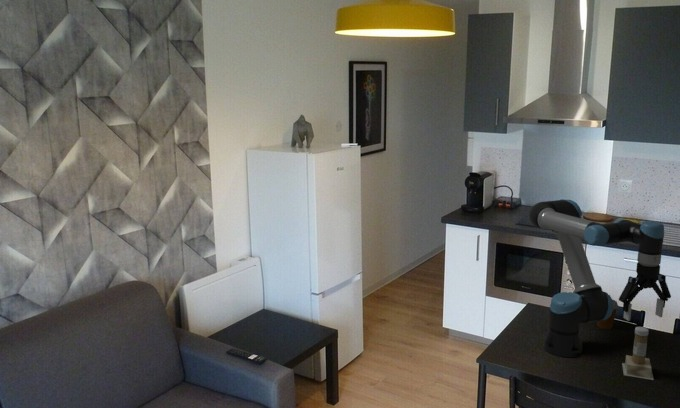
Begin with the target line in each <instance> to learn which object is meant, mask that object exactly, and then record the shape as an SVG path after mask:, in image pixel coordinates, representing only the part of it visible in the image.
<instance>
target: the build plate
mask: <svg viewBox="0 0 680 408" xmlns="http://www.w3.org/2000/svg"><path fill="white" fill-rule="evenodd" d="M621 366H622V371H623V372H622V373H623V376H626V377H632V378H640V379H645V380H649V381H650V380H651V381H654V380H655V379H654V375H653V370H652V369H651V378H647V377H640V376H634V375H628V374H626V367H625V362H622V363H621Z"/></svg>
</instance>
